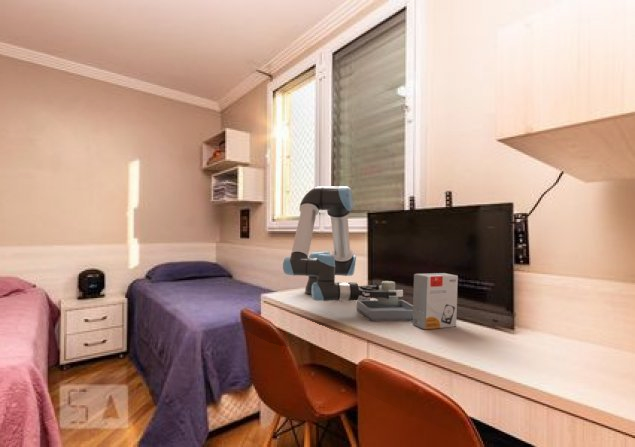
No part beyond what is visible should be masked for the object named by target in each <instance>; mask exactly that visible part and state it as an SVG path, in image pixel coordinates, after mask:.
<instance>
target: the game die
mask: <svg viewBox="0 0 635 447" xmlns="http://www.w3.org/2000/svg"><path fill="white" fill-rule="evenodd" d="M372 299H373V297H367V298H366V297H362V296H361V295H359V297H358V300H357V301H360V300H372Z"/></svg>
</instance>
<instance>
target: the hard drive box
mask: <svg viewBox="0 0 635 447" xmlns="http://www.w3.org/2000/svg"><path fill="white" fill-rule="evenodd" d="M458 278H459V276H458V275H457V274H450V273H446V272H442V273H441V272H439V273H438V272H436V273H435V272H433V273H431V272H430V273H414V274H413V296H412V297H413V298H412V299H413V300H412V305H413V320H412V322H411V323H412V325H413V326H416V327H418V328H420V329H423V330H434V329H442V328H443V329H444V328H453V327H454V326H456V327H457V314H458V313H457V310H458V282H459V280H458Z"/></svg>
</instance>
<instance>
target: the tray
mask: <svg viewBox="0 0 635 447" xmlns="http://www.w3.org/2000/svg"><path fill="white" fill-rule="evenodd" d="M356 310H357V311H358V312H359V313H360V314H362V315H363V316H364V317H365V318H366V319H367V320H369V321H370V322H397V321H398V322H400V321H401V322H403V321H413V304H411V303H410V302H408V301H405V300H404V299H398V304H397V305H395V306H383V305H381V304H379V303H378V299H373V300H372V299H370V300H360V301H358V300H356Z"/></svg>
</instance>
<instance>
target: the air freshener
mask: <svg viewBox="0 0 635 447" xmlns="http://www.w3.org/2000/svg"><path fill="white" fill-rule="evenodd" d="M380 286H381V290H384V291H388V290H396V282H395V281H392V280H390V281H389V280H382V281H381V285H380ZM377 300H378V303H379V304H381V305H383V306H395V305H397V304H398V300H399V297H389V299H387V298H377Z"/></svg>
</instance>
